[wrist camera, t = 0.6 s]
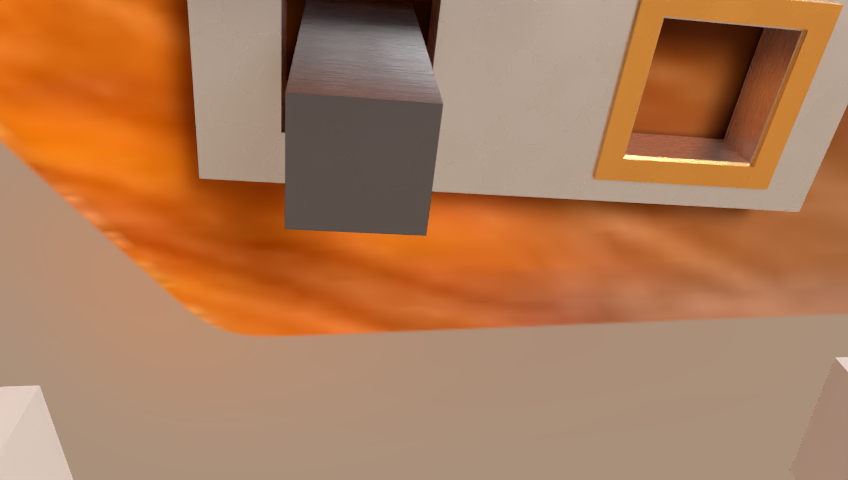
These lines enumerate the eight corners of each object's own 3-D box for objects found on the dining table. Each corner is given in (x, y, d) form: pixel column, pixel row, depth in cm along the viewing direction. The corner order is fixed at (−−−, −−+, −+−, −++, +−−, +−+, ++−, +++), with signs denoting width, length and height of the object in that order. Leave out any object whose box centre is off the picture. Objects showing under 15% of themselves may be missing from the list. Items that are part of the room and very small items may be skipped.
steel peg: (308, -9, 27) (285, 92, 17) (411, 1, 27) (443, 103, 18) (306, 91, 29) (284, 228, 19) (402, 98, 29) (426, 235, 20)
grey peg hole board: (195, -107, 24) (179, -98, 22) (862, -35, 28) (907, -21, 26) (210, 151, 30) (198, 180, 27) (770, 186, 33) (801, 214, 31)
